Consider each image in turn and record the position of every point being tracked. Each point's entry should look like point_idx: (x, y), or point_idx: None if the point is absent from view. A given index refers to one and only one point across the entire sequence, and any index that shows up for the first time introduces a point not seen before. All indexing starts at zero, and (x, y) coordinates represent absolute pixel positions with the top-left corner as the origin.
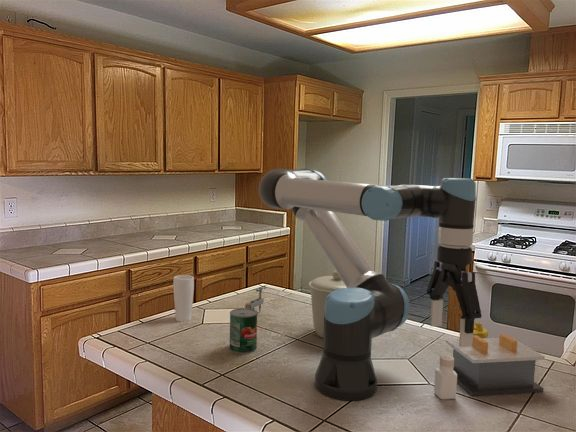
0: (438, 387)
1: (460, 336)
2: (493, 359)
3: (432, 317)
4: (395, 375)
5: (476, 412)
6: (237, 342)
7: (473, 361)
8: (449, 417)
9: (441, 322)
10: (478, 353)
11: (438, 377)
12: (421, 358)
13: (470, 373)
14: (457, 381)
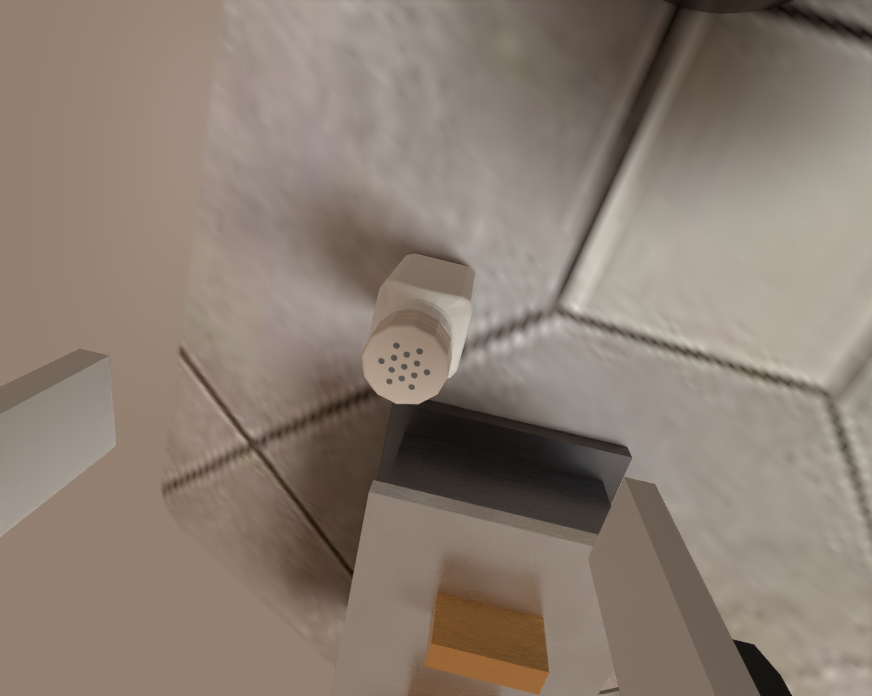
0: (426, 265)
1: (8, 395)
2: (353, 576)
3: (652, 555)
4: (712, 205)
5: (288, 317)
6: None
7: (370, 487)
8: (276, 184)
9: (594, 584)
10: (432, 570)
11: (427, 280)
12: (788, 454)
13: (457, 473)
14: (506, 423)
